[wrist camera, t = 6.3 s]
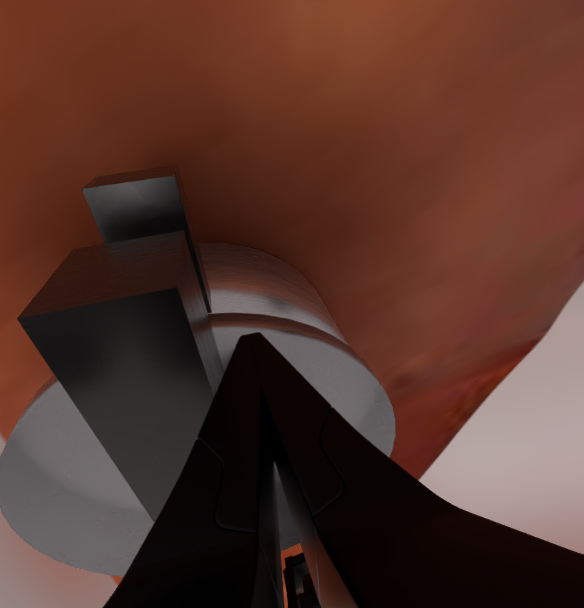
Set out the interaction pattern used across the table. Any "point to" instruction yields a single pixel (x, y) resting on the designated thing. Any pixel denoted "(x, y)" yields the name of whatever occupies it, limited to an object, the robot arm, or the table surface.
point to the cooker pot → (204, 249)
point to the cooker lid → (143, 398)
